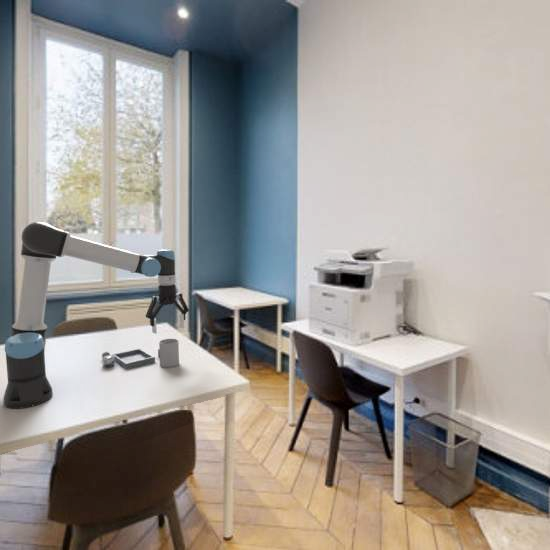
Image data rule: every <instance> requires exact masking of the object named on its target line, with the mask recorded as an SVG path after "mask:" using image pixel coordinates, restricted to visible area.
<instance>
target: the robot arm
mask: <svg viewBox="0 0 550 550" xmlns="http://www.w3.org/2000/svg"><path fill="white" fill-rule="evenodd" d="M21 241H22V243H21V249H20V250H21V251H20V252H21V253H20V256H21V257H22V258H23V259H24V267H23V274H22V282H21V291H20V299H19V307H18V315H17V321H16V322H15V323H14V324H12V326H11V331H10V333H11V334H10V337H8V338H7V339H6V340H5V343H4V352H5V361H6V375H7V384H6V388H5V390H4V394H3V398H2V401H3V406H4V405H5V406H6V407H5V406H4V407H5V408H8V407H9V409H22V408H21V407H26V408H28V407H27V406H31V407H33V406H32V405H35V406H37V405H36V404H38V405H40V404H39V403H41V404H43V403H45V402H47V401H49V400H50V399H51V398H52V397H53V387H52V385H51V384H50V383H51V382H50V381H49V379H48V377H47V373H46V358H45V357H46V355H45V352H46V351H45V349H46V348H45V347H46V343H47V342H46V341H47V331H48V325H47V324H45V322H44V320H45V312H46V305H47V298H48V297H47V296H48V288H49V282H50V280H49V279H50V273H51V264H52V262H54V261H56V258H57V257H59V258H62V257H66V256H67V257H70V258H74V259H79V260H82V261H87V262H91V263H94V264H99V265H102V266H107V267H110V268H116V269H120V270H122V271H123V270H124V271H126V272H127V271H128V272H130V273H132V274H139V275H142V276H143V275H144V276H145V277H149V278H154V277H156V276H157V283H158V285H157V286H158V287H157V288H158V296H155V295H152V297H151V302H150V303H149V307H148V309H147V311H146V314H145V318H146V319H149V326H151V331H152V333H153V334H157V318H155V317H156V316H157V315H158V313H159V312H160V311H161V310H162V307H164V306H168V305H173V306H174V307H175V308H176V309H177V310H178V311H179V328H181V329H185V320H186V314H188V313H189V312H190V309H189V307H188V306H187V303H186V301H185V299H184V297H183V293H182V292H177V293H176V291H177V287H176V286H177V285H176V258H175V255H176V254H175V251H174V250H172V249H159V250H157V251H156V254H144V255H143V254H139V253H135V252H132V251H129V250H125V249H120V248H117V247H113V246H109V245H107V244H102V243H99V242H96V241H91V240H88V239H86V238H81V237H78V236H74V235H71V234H70V232H69V231H65V230H62V229H60V228H57V227H55V226H54V225H52V224H50V223H48V222H45V221H34V222H31V223H30V224H27V225H26V227H25V228H24V229H23V230H22V233H21ZM176 299H178V301H179V302H180V304H179V302H177V300H176ZM158 300H159V301H158ZM157 302H158V303H157ZM156 304H157V305H156ZM48 399H49V400H48ZM46 400H47V401H46ZM42 402H43V403H42Z"/></svg>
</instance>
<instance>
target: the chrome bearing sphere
mask: <svg viewBox="0 0 550 550" xmlns="http://www.w3.org/2000/svg"><path fill="white" fill-rule="evenodd" d="M101 360H102V367H103V368H105V369H106V368H107V369H108V368H113V367H115V361H114V356H112V354H110V355H108V356H104V357H102V356H101Z"/></svg>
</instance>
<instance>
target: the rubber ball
mask: <svg viewBox="0 0 550 550" xmlns="http://www.w3.org/2000/svg"><path fill="white" fill-rule="evenodd" d="M108 355H111V354H110V352H109V351H105V352H103V353H102V354H101V358H102V357H104V356H108Z"/></svg>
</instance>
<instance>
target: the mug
mask: <svg viewBox="0 0 550 550" xmlns="http://www.w3.org/2000/svg"><path fill="white" fill-rule="evenodd" d="M158 344H159V345H158V346H159V347H158V349H159V350H160V358H159V367H161V368H164V369H168V368H169V369H170V368H174V367H177V366H179V365H180V351H179V350H180V349H179V348H180V347H179V340H178V339H176V338H165V339H162V340H159V343H158Z"/></svg>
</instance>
